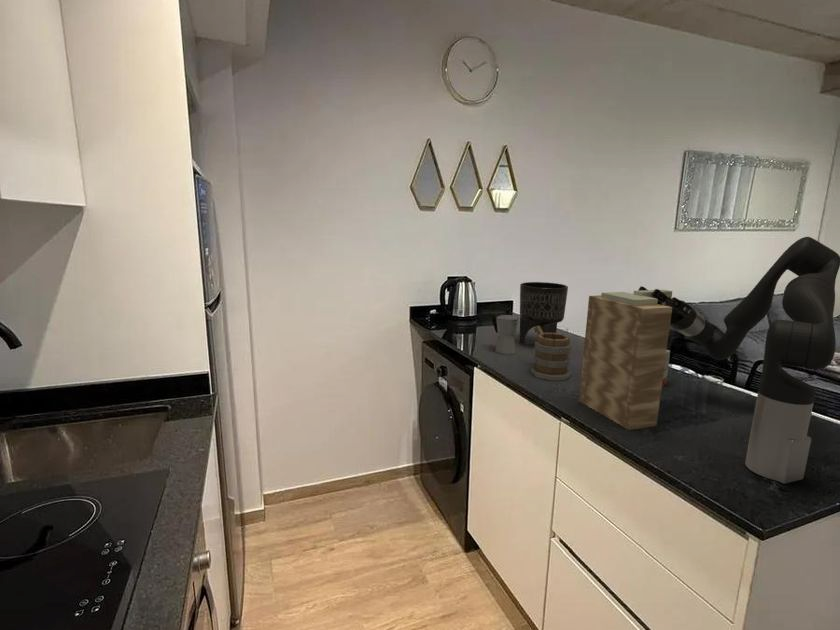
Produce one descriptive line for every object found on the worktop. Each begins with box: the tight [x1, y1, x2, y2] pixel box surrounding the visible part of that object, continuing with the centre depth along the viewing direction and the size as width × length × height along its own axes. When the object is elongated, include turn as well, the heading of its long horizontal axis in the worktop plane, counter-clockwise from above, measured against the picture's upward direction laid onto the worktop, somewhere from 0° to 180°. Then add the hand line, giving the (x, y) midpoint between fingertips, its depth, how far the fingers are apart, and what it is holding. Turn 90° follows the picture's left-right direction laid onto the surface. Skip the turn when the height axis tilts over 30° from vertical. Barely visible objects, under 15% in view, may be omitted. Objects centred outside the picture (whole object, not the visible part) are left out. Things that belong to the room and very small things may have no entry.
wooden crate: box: [578, 294, 672, 431], centre depth 124 cm, size 20×9×32 cm, turn 19°
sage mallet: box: [600, 289, 673, 306], centre depth 123 cm, size 12×17×2 cm
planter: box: [519, 281, 569, 344], centre depth 194 cm, size 20×20×26 cm
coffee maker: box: [491, 308, 520, 356], centre depth 185 cm, size 15×9×18 cm, turn 34°
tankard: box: [530, 326, 572, 382], centre depth 161 cm, size 20×13×15 cm, turn 9°
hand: (647, 290), depth 123 cm, fingers open, 4 cm apart
